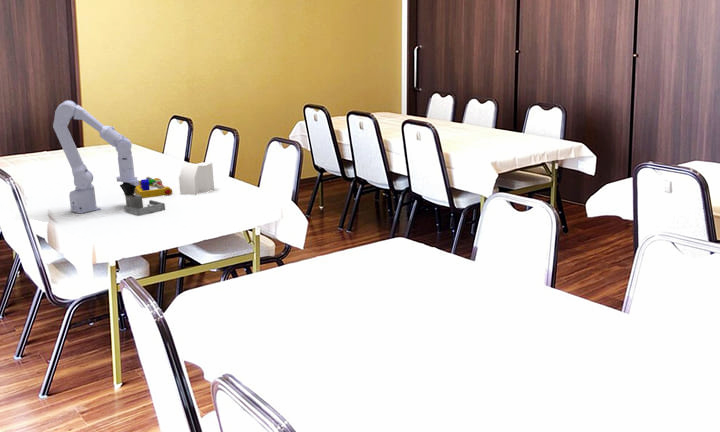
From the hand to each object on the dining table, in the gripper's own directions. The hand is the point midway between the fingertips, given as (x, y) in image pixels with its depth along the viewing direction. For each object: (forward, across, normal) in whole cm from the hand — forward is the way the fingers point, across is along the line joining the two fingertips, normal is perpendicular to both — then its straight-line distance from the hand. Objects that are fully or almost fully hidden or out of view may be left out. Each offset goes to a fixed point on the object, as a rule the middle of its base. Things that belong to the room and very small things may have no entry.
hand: (130, 200), depth 319 cm
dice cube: (+3, -4, 0) cm, 5 cm away
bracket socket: (+2, -11, 0) cm, 11 cm away
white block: (+3, 0, -33) cm, 33 cm away
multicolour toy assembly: (+3, +21, -20) cm, 29 cm away
